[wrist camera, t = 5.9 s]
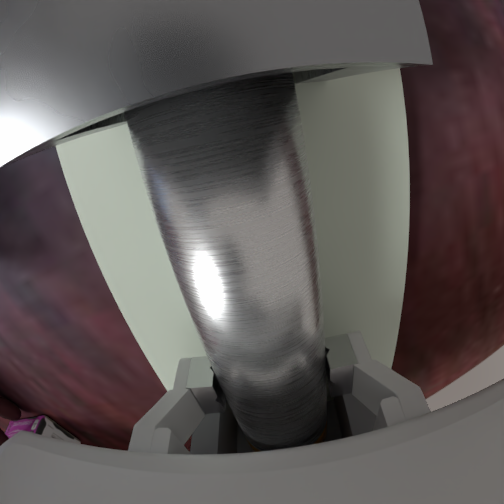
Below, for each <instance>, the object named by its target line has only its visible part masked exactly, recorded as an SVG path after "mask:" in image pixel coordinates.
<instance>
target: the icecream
mask: <svg viewBox="0 0 504 504" xmlns="http://www.w3.org/2000/svg"><path fill="white" fill-rule="evenodd" d="M0 416H1V417H3V418H5V419H9V420H18V419H19V418H20V417H21V411H20V409H19V408H18V406H17V405H15V404H14V403H12V402H11V401H9V400H8V399H5V398H2V397H0ZM8 439H9V438H8V436H7V435H6V434H5V433H4V432H3V431H2V430H1V429H0V446H1V445H2V444H3V443H4V442H6V441H7V440H8Z"/></svg>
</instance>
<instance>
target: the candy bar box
mask: <svg viewBox="0 0 504 504" xmlns="http://www.w3.org/2000/svg"><path fill="white" fill-rule="evenodd" d="M20 431H28V432H32V433H35V434H39V435H43V436H47V437H51V438H55V439H59V440H64V441H68V442H73V443H78V444H80V443H81V441H80V440H79V439H77V438H76V437H74V436H73V435H72V434H70V433H69V432H67V431H66V430H64V429H63V428H62V427H61V426H59V425H58V424H57V423H55V422H54V421H53V420H51V419H50V418H48V417H47V416H45V415H42V416H38V417H32V418H27V419H21V420H15V421H10V423H9V425H8V427H7V429H6V431H5V434H6V435H7V436H8V438H11V437H12V436H13V435H15V434H16V433H18V432H20Z"/></svg>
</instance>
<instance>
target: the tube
mask: <svg viewBox="0 0 504 504" xmlns="http://www.w3.org/2000/svg"><path fill="white" fill-rule="evenodd" d="M124 113H125V117H126V121H127V125H128V129H129V132H130V136H131V140H132V144H133V147H134V151H135V155H136V158H137V162H138V165H139V169H140V172H141V176H142V179H143V182H144V186H145V189H146V192H147V196H148V199H149V202H150V205H151V208H152V211H153V215H154V218H155V221H156V224H157V227H158V230H159V233H160V236H161V239H162V242H163V244H164V247H165V250H166V253H167V256H168V259H169V261H170V264H171V267H172V270H173V272H174V275H175V278H176V281H177V283H178V286H179V288H180V291H181V294H182V296H183V299H184V301H185V304H186V307H187V309H188V312H189V314H190V317H191V319H192V322H193V324H194V326H195V329H196V331H197V334H198V336H199V338H200V341H201V343H202V346H203V348H204V350H205V353H206V355H207V357H208V359H209V362H210V364H211V366H212V369H213V371H214V373H215V375H216V377H217V380H218V382H219V384H220V386H221V388H222V390H223V393H224V395H225V397H226V399H227V401H228V403H229V405H230V407H231V409H232V411H233V414H234V416H235V418H236V420H237V422H238V424H239V426H240V428H241V430H242V432H243V434H244V436H245V438H246V439H247V441H248V443H249V445H250V447H251V449H252V451H253V452H259V451H269V450H277V449H285V448H292V447H299V446H305V445H311V444H317V443H322V442H324V441H325V439H326V435H327V387H326V355H325V334H324V316H323V301H322V288H321V275H320V264H319V253H318V243H317V233H316V224H315V215H314V207H313V199H312V191H311V183H310V176H309V168H308V161H307V155H306V148H305V142H304V135H303V129H302V123H301V117H300V111H299V106H298V100H297V95H296V89H295V84H294V79H293V74H292V72H290V73H282V74H275V75H268V76H262V77H256V78H250V79H245V80H239V81H234V82H229V83H224V84H220V85H215V86H211V87H207V88H203V89H198V90H194V91H191V92H187V93H183V94H179V95H176V96H172V97H169V98H165V99H162V100H159V101H156V102H152V103H149V104H146V105H143V106H140V107H137V108H134V109H131V110H128V111H126V112H124Z"/></svg>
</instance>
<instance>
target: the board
mask: <svg viewBox="0 0 504 504" xmlns="http://www.w3.org/2000/svg"><path fill="white" fill-rule="evenodd" d="M292 74H293V79H294V84H295V89H296V95H297V100H298V106H299V111H300V117H301V123H302V129H303V135H304V142H305V148H306V155H307V161H308V168H309V176H310V183H311V191H312V199H313V207H314V215H315V224H316V233H317V243H318V253H319V264H320V275H321V288H322V301H323V316H324V334H325V338H327V337H332V336H336V335H341V334H345V333H346V334H347V333H350V332H354V331H360V332H361V334H362V337H363V339H364V342H365V344H366V347H367V349H368V351H369V354H370V356H371V359H372V360H377V361H379V362H380V363H382V364H384V365H385V366H387V367H388V368H390V369H391V368H392V363H393V358H394V353H395V348H396V343H397V337H398V331H399V325H400V318H401V311H402V304H403V296H404V288H405V278H406V268H407V256H408V240H409V215H410V173H409V148H408V133H407V121H406V111H405V102H404V94H403V86H402V79H401V73H400V68H397V69H390V70H383V71H376V72H370V73H364V74H358V75H353V76H348V77H343V78H338V79H333V80H328V81H318V82H308V83H299V84H296V80H295V75H294V72H292ZM56 149H57V153H58V156H59V159H60V163H61V166H62V169H63V173H64V176H65V179H66V182H67V185H68V188H69V191H70V194H71V197H72V200H73V202H74V205H75V208H76V211H77V213H78V216H79V219H80V221H81V224H82V226H83V229H84V232H85V234H86V237H87V239H88V241H89V244H90V246H91V249H92V251H93V253H94V256H95V258H96V260H97V262H98V265H99V267H100V269H101V271H102V273H103V276H104V278H105V280H106V282H107V284H108V286H109V288H110V290H111V292H112V295H113V297H114V299H115V301H116V303H117V305H118V307H119V308H120V310H121V312H122V314H123V316H124V318H125V320H126V322H127V324H128V326H129V327H130V329H131V331H132V333H133V335H134V336H135V338H136V340H137V342H138V344H139V345H140V347H141V349H142V351H143V352H144V354H145V356H146V357H147V359H148V361H149V362H150V364H151V366H152V367H153V369H154V371H155V372H156V374H157V375H158V377H159V379H160V380H161V382H162V383H163V385H164V386H165V388H166V389H167V391H169V390H173V386H174V381H175V377H176V372H177V367H178V362H179V360H180V359H181V358H191V357H202V356H207V355H206V353H205V350H204V348H203V346H202V343H201V341H200V338H199V336H198V334H197V331H196V329H195V326H194V324H193V322H192V319H191V317H190V314H189V312H188V309H187V307H186V304H185V301H184V299H183V296H182V294H181V291H180V288H179V286H178V283H177V281H176V278H175V275H174V272H173V270H172V267H171V264H170V261H169V259H168V256H167V253H166V250H165V247H164V244H163V242H162V239H161V236H160V233H159V230H158V227H157V224H156V221H155V218H154V215H153V211H152V208H151V205H150V202H149V199H148V196H147V192H146V189H145V186H144V182H143V179H142V176H141V172H140V169H139V165H138V162H137V158H136V155H135V151H134V147H133V144H132V140H131V136H130V132H129V129H128V125H127V123H126V124H123V125H120V126H117V127H114V128H110V129H107V130H103V131H100V132H96V133H93V134H90V135H86V136H83V137H80V138H77V139H74V140H71V141H68V142H65V143H62V144H59V145H56ZM326 387H327V401H330V400H334V397H331V396H330V392H329V388H328V383H327V376H326Z"/></svg>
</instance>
